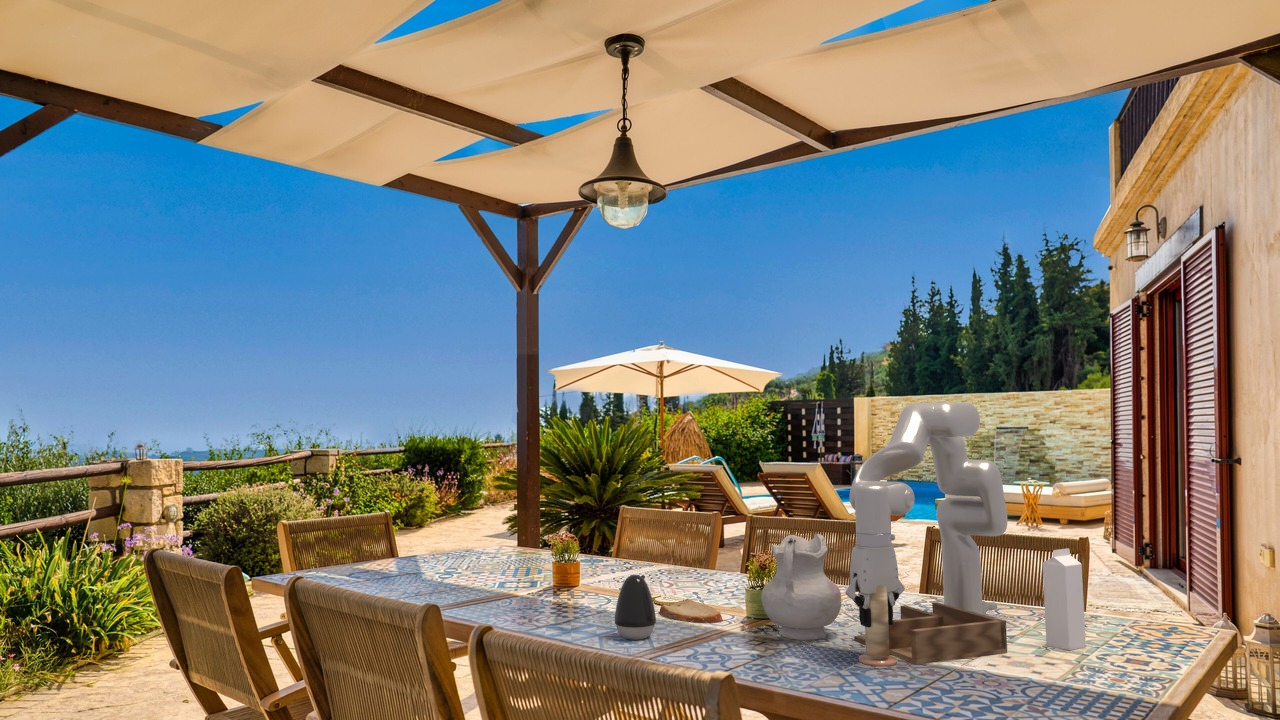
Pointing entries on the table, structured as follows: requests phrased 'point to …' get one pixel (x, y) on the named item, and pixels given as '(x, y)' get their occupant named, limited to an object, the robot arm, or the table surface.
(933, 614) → the channel board
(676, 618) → the bread slice
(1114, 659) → the table surface
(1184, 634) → the table surface
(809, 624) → the ceramic pitcher
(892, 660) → the pad
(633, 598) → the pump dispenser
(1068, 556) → the milk
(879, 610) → the beech peg
